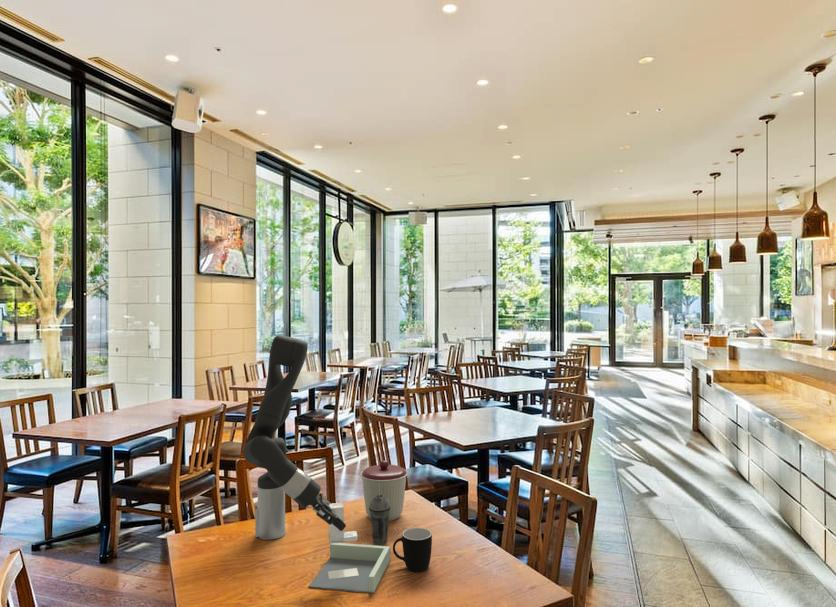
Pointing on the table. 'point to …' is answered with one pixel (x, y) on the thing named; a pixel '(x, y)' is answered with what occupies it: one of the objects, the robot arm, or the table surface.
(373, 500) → the beverage cup
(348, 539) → the bracket
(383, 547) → the corner walls
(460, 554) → the table surface
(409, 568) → the mug
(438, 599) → the table surface
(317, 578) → the mat
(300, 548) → the table surface
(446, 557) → the table surface
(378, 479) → the canister
